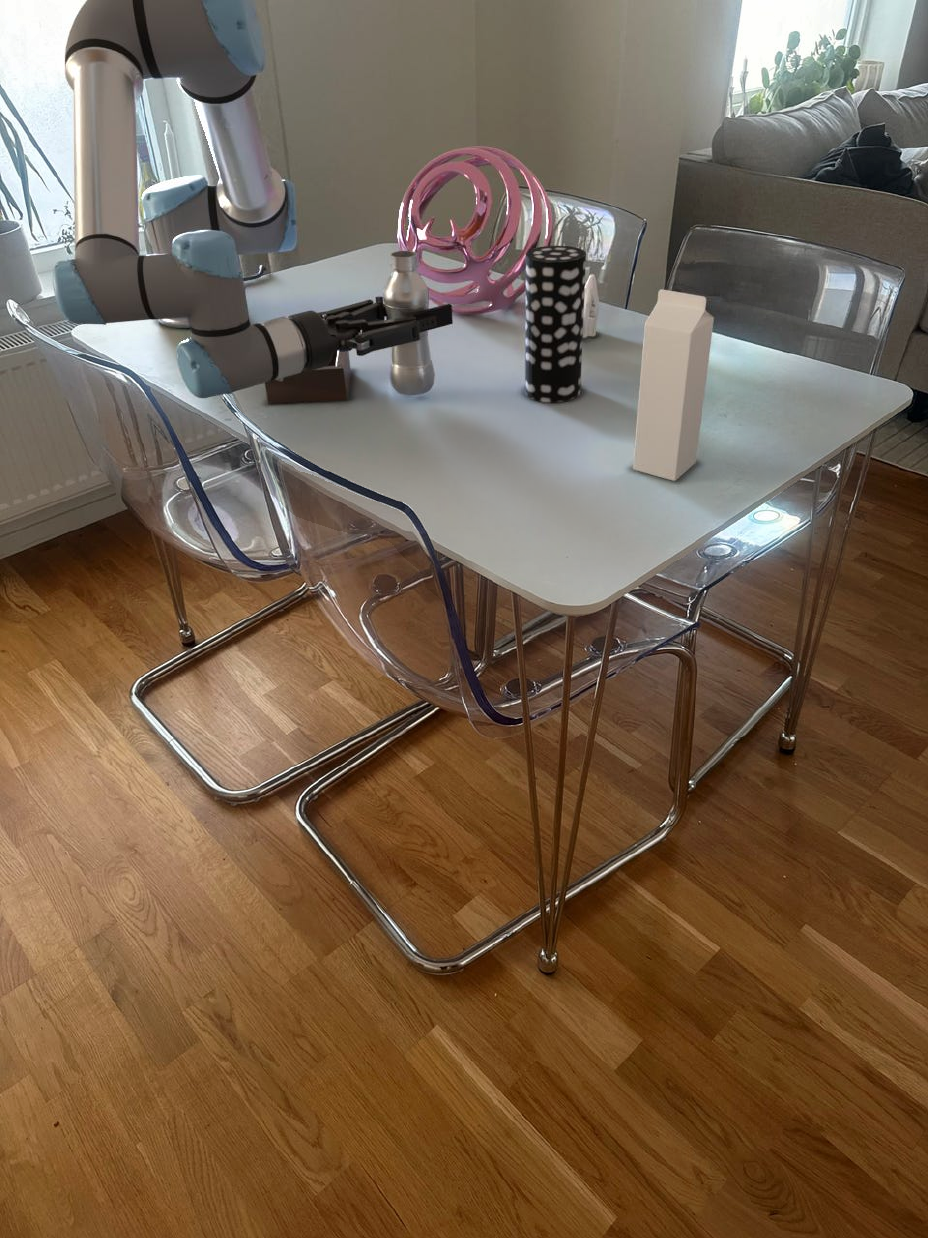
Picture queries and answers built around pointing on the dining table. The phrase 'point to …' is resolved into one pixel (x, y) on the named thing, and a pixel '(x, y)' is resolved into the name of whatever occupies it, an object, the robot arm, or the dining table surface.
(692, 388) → the milk
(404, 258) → the silver metal bottle
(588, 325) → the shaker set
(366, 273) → the dining table surface
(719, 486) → the dining table surface
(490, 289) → the spiral basket
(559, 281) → the spotted tube
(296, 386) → the box
